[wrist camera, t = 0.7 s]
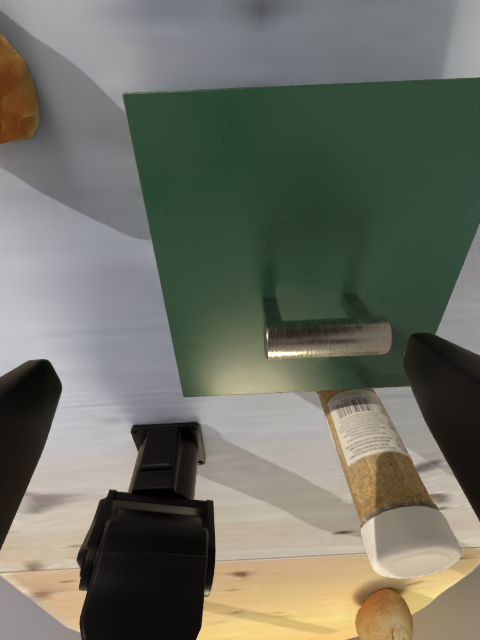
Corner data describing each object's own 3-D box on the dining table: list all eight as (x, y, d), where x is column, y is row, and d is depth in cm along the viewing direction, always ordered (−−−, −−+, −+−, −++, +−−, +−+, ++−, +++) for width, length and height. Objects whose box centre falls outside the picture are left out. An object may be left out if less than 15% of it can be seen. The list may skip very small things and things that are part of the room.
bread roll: (343, 610, 66) (356, 666, 59) (359, 586, 57) (376, 648, 51) (388, 608, 66) (405, 664, 59) (410, 584, 58) (433, 645, 51)
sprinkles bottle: (312, 397, 28) (366, 584, 17) (315, 360, 26) (381, 551, 14) (362, 393, 28) (449, 579, 17) (370, 355, 26) (479, 544, 14)
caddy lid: (409, 378, 20) (451, 440, 16) (184, 389, 20) (174, 454, 16) (523, 76, 11) (669, 59, 8) (127, 93, 11) (76, 85, 7)
